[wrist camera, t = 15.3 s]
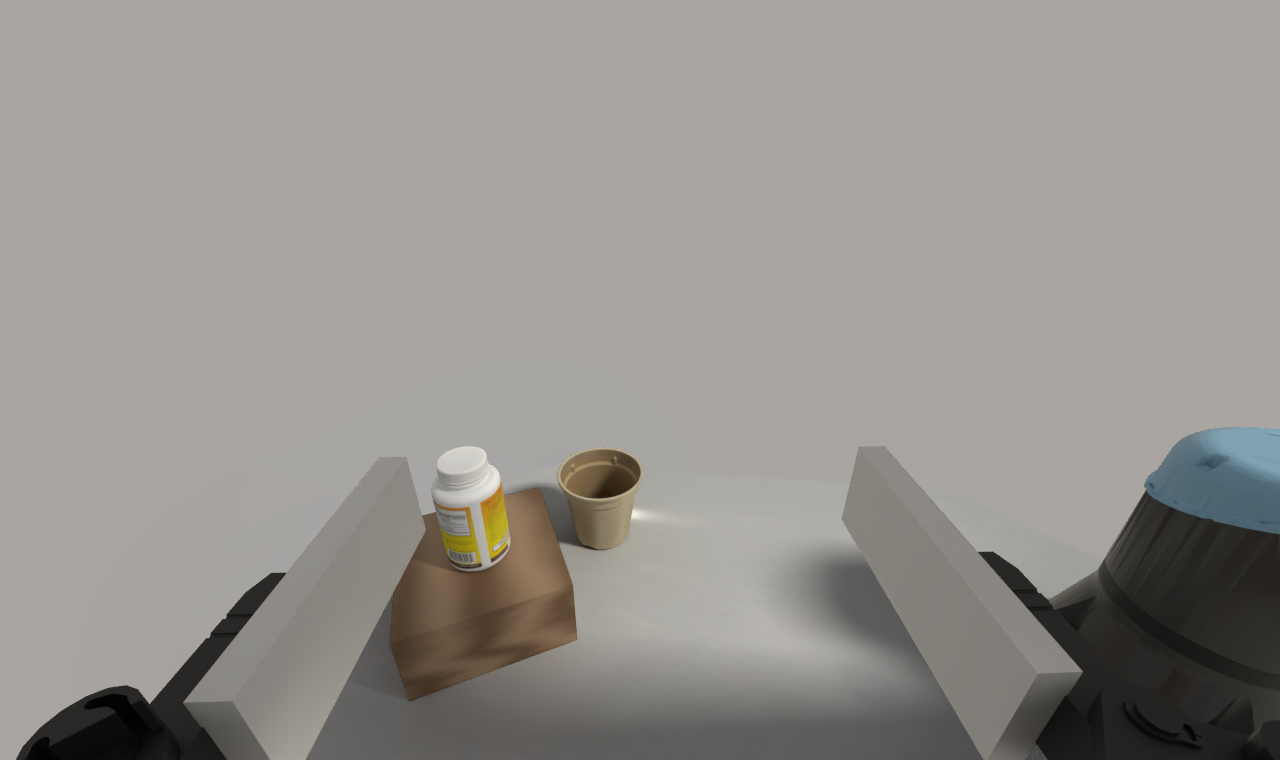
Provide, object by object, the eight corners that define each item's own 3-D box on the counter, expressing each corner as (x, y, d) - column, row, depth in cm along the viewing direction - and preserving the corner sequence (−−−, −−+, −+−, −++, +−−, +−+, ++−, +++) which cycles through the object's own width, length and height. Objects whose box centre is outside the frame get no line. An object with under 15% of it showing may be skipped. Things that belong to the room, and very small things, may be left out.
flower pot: (659, 530, 55) (661, 470, 52) (600, 577, 49) (597, 513, 45) (605, 494, 61) (603, 438, 57) (546, 532, 55) (539, 472, 51)
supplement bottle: (505, 522, 46) (491, 434, 42) (516, 562, 42) (502, 468, 37) (445, 540, 44) (423, 449, 40) (450, 584, 40) (426, 487, 35)
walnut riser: (544, 535, 54) (539, 487, 51) (577, 639, 43) (572, 585, 40) (413, 572, 50) (398, 521, 47) (409, 700, 38) (389, 643, 35)
